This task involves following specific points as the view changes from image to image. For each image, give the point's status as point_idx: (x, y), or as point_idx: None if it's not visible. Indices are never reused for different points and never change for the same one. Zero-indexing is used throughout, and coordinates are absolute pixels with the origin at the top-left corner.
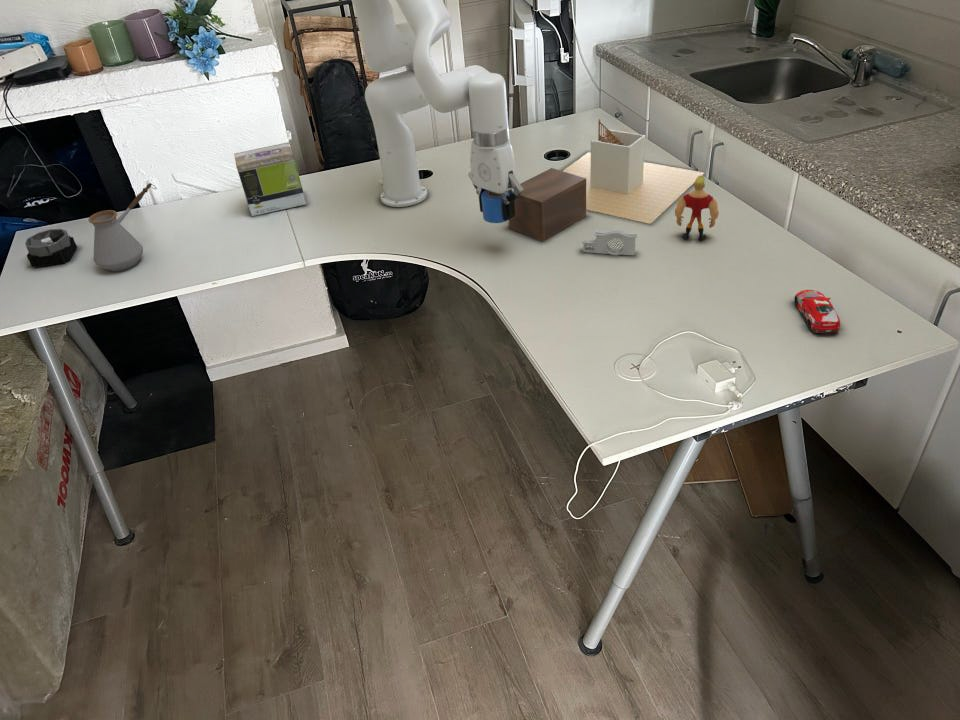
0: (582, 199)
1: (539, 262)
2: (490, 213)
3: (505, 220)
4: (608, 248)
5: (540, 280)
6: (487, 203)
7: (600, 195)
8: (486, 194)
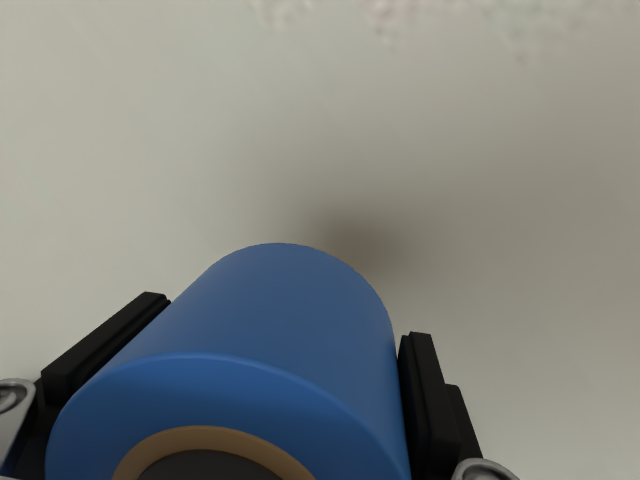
0: None
1: (121, 250)
2: (230, 273)
3: (148, 292)
4: None
5: (20, 134)
6: (216, 319)
7: None
8: (310, 464)
